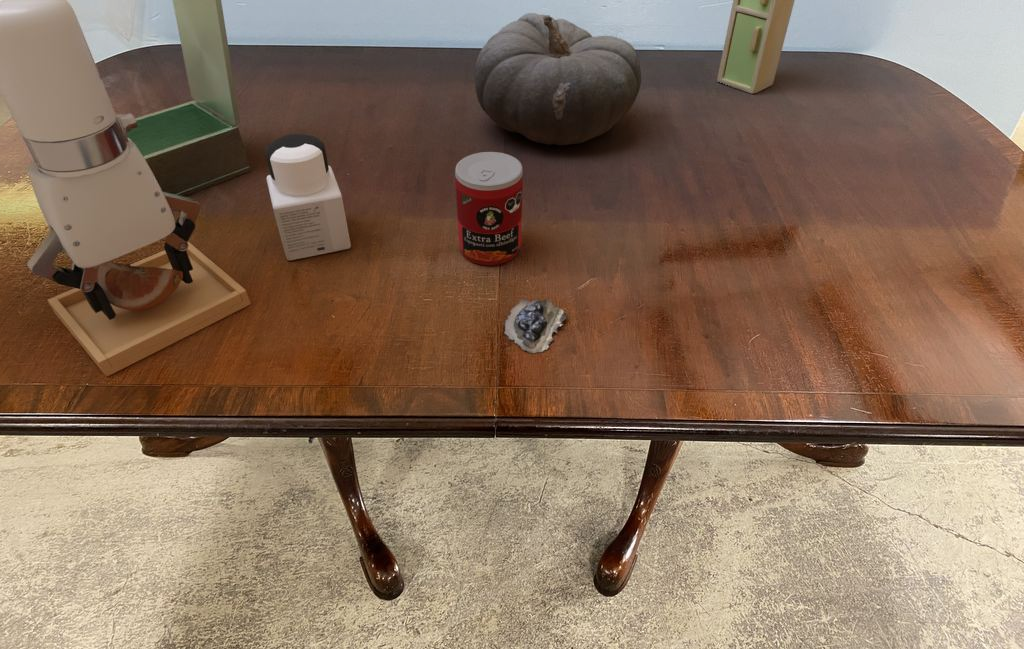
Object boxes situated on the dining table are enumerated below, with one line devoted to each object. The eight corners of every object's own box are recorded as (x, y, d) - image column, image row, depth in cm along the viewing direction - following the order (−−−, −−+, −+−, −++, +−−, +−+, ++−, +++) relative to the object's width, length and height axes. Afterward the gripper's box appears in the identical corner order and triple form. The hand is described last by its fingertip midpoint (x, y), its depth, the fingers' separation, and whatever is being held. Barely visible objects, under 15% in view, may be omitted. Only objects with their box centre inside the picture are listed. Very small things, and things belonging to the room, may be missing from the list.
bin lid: (213, -8, 81) (220, -8, 82) (166, -28, 88) (173, -28, 88) (234, 124, 91) (240, 123, 92) (191, 97, 98) (196, 96, 98)
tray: (106, 377, 65) (98, 362, 64) (55, 313, 72) (47, 299, 71) (250, 304, 74) (246, 290, 72) (192, 254, 81) (187, 240, 79)
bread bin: (143, 212, 88) (123, 165, 83) (104, 179, 94) (84, 133, 90) (250, 171, 96) (238, 126, 92) (208, 143, 103) (194, 100, 98)
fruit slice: (201, 287, 75) (187, 251, 71) (170, 327, 70) (153, 289, 66) (131, 280, 75) (115, 243, 72) (96, 318, 70) (76, 281, 67)
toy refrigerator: (712, 82, 122) (739, -45, 108) (735, 73, 126) (764, -52, 112) (750, 96, 118) (783, -36, 104) (772, 85, 122) (807, -43, 108)
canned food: (458, 267, 79) (453, 185, 72) (459, 230, 85) (455, 151, 78) (522, 266, 79) (524, 184, 72) (519, 229, 85) (521, 150, 78)
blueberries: (566, 305, 74) (567, 291, 73) (568, 355, 68) (569, 341, 67) (506, 303, 74) (506, 289, 73) (502, 352, 68) (502, 339, 67)
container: (279, 228, 85) (254, 133, 76) (340, 217, 87) (322, 123, 79) (287, 262, 80) (261, 163, 71) (351, 249, 82) (334, 152, 73)
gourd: (505, 68, 119) (519, -33, 106) (638, 110, 116) (669, 12, 103) (448, 140, 104) (456, 33, 90) (600, 192, 100) (630, 88, 87)
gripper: (154, 102, 67) (206, 247, 78) (-45, 161, 57) (47, 316, 69) (190, 125, 63) (238, 274, 75) (-18, 193, 53) (75, 352, 65)
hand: (146, 294), depth 72 cm, fingers closed on fruit slice, 7 cm apart
